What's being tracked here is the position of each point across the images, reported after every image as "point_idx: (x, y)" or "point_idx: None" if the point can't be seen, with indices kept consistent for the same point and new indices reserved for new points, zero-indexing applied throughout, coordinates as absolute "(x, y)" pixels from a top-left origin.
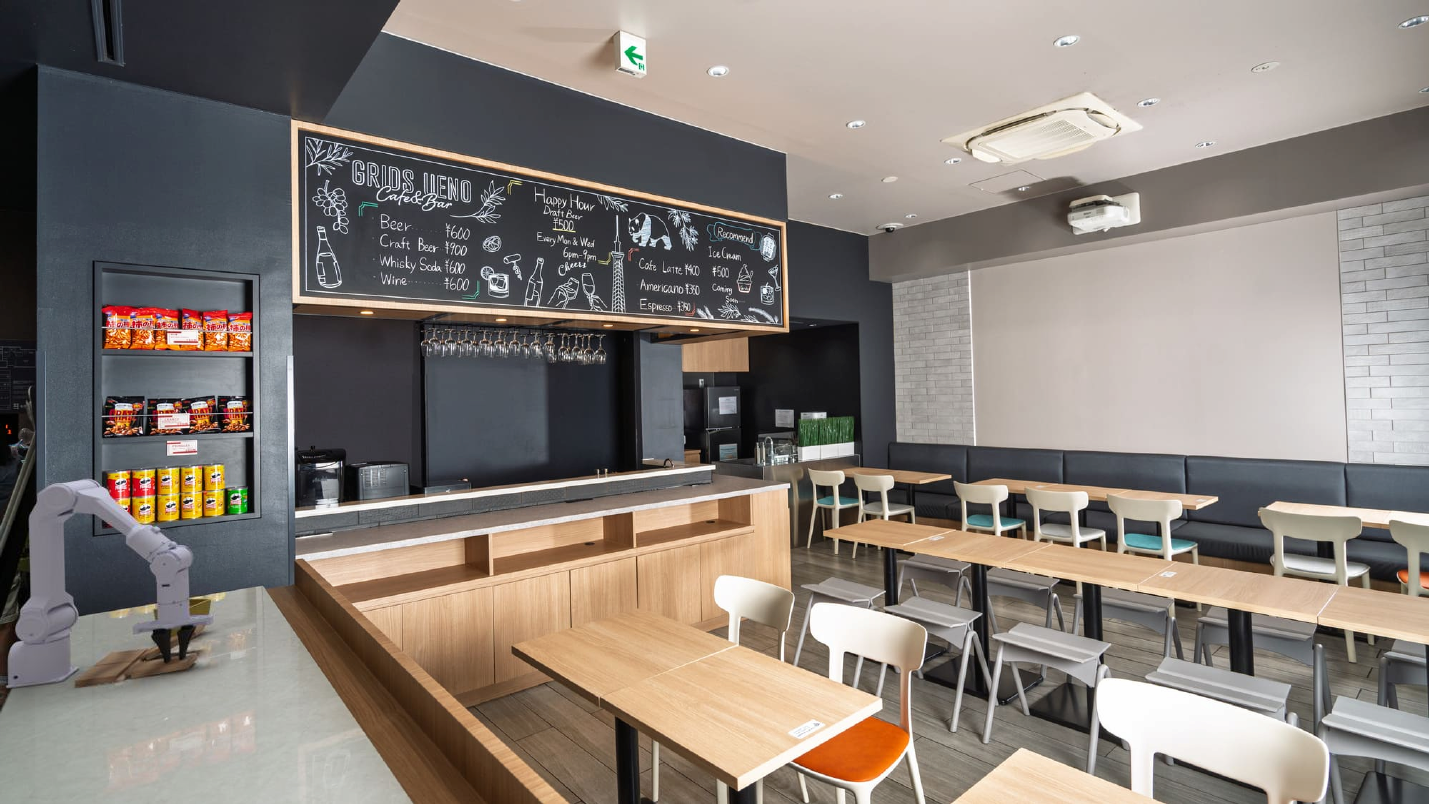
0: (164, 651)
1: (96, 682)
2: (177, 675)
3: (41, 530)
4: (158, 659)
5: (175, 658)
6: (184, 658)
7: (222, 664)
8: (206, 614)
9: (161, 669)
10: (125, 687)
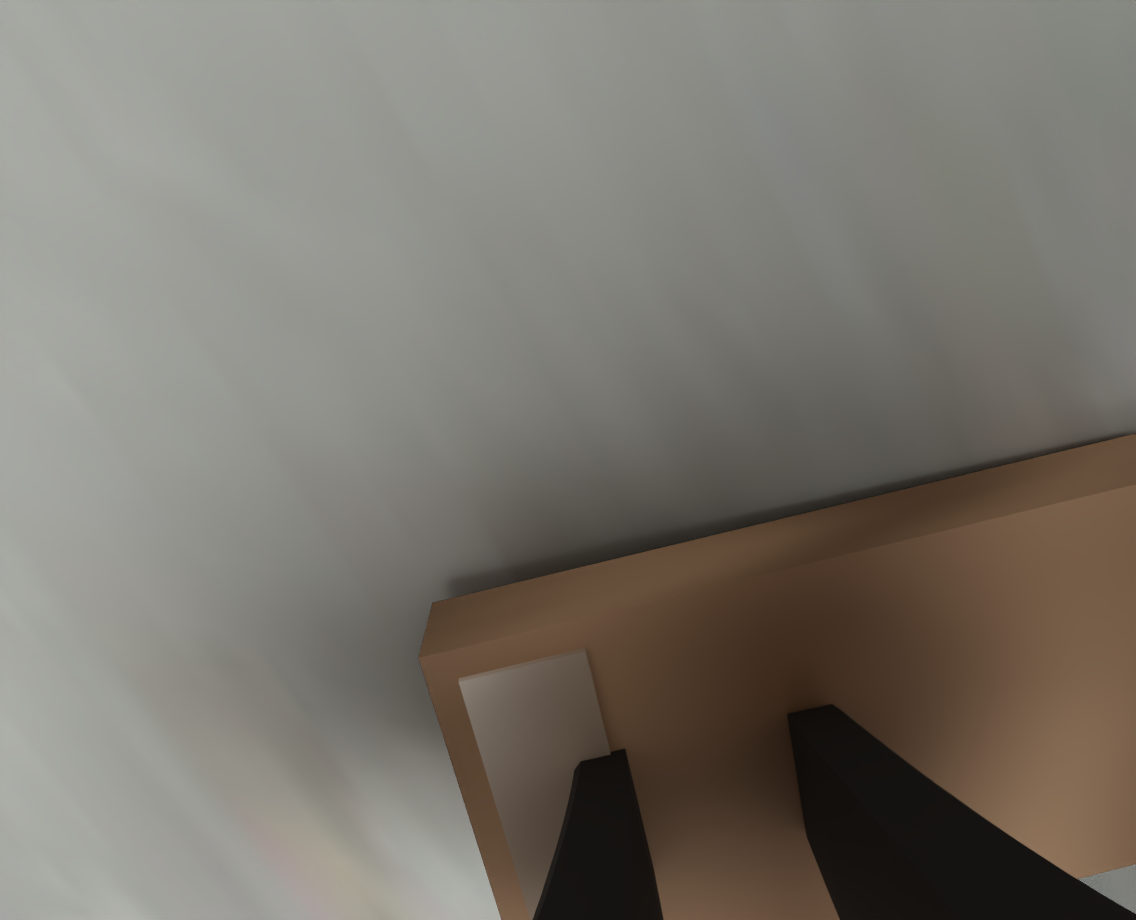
0: (927, 842)
1: None
2: (520, 458)
3: None
4: None
5: (754, 863)
6: None
7: (132, 763)
8: None
9: (789, 540)
10: (1069, 75)
